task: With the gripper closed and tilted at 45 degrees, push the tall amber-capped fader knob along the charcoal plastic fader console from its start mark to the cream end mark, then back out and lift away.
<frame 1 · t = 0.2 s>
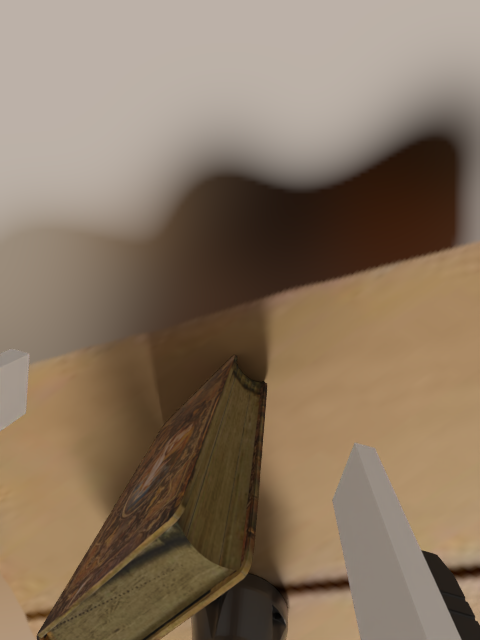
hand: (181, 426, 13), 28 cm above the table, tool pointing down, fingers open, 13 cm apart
book: (211, 404, 44), on the table
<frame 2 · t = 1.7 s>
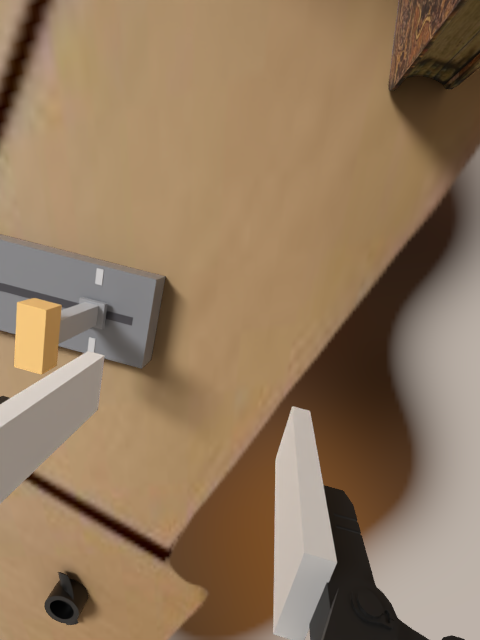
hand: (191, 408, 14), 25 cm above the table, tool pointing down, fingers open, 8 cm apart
fader knob: (66, 324, 33), point 8 cm above the table, slide at 0.0 cm
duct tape: (73, 589, 55), on the table
fader console: (52, 291, 41), on the table
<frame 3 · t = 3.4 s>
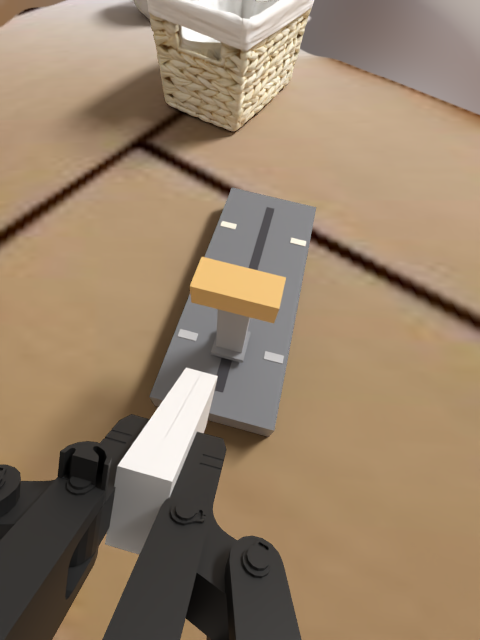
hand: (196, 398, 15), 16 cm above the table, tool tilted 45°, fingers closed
fader knob: (234, 318, 26), point 8 cm above the table, slide at 0.0 cm
storage basket: (233, 95, 58), on the table
fader console: (245, 299, 37), on the table
teacup: (161, 14, 72), on the table
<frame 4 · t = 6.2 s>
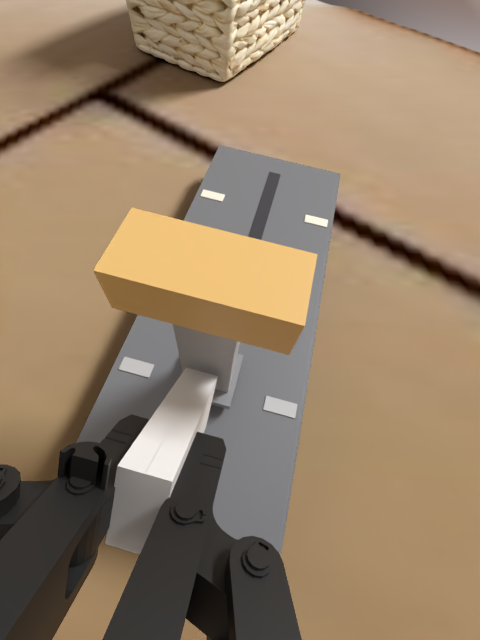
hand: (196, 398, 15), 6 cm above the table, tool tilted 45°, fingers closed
fader knob: (210, 337, 14), point 8 cm above the table, slide at 0.5 cm, touching gripper
storage basket: (225, 43, 46), on the table
fader console: (237, 306, 25), on the table
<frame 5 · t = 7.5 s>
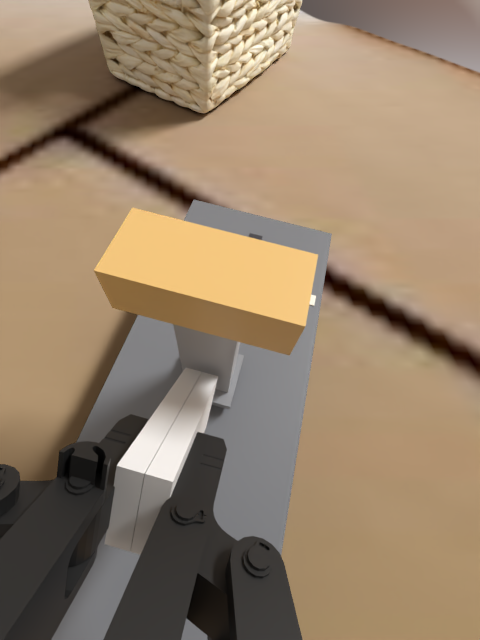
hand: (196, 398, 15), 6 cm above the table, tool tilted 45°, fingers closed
fader knob: (211, 337, 14), point 8 cm above the table, slide at 7.9 cm, touching gripper
storage basket: (209, 66, 42), on the table
fader console: (208, 400, 21), on the table
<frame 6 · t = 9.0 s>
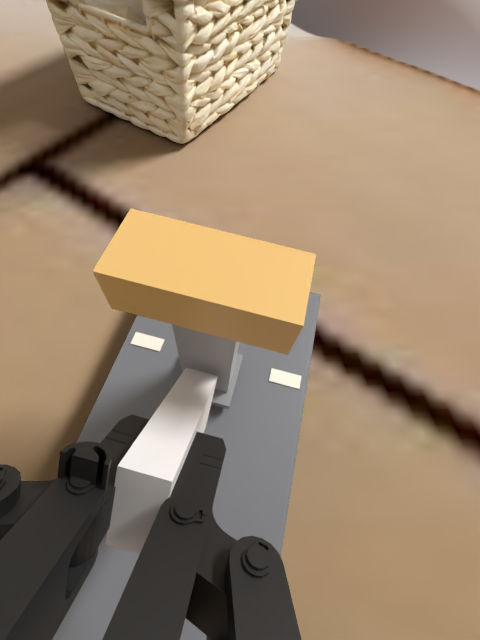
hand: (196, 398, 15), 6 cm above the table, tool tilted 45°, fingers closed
fader knob: (209, 337, 14), point 8 cm above the table, slide at 13.8 cm, touching gripper
storage basket: (192, 88, 40), on the table
fader console: (177, 501, 18), on the table
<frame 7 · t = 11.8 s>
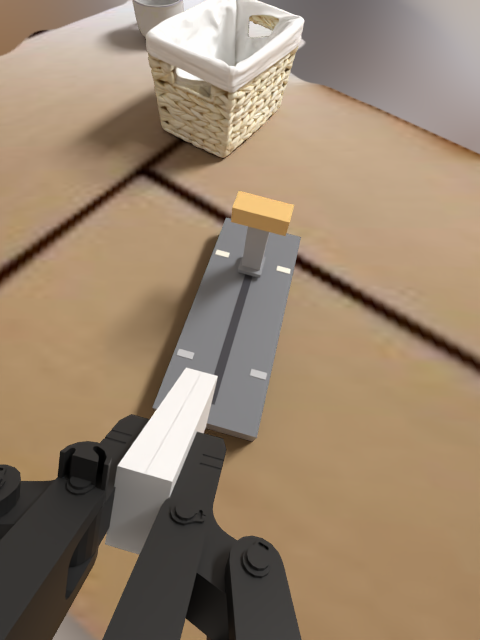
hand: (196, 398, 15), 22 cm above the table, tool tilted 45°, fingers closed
fader knob: (256, 239, 38), point 8 cm above the table, slide at 14.0 cm
storage basket: (225, 120, 63), on the table
fader console: (236, 320, 42), on the table
teacup: (163, 37, 76), on the table
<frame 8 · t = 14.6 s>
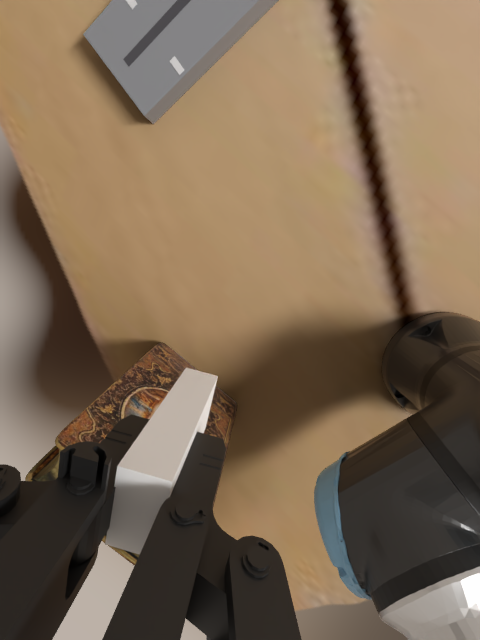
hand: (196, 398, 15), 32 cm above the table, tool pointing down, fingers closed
book: (192, 385, 51), on the table
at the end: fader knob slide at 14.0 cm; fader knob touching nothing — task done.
